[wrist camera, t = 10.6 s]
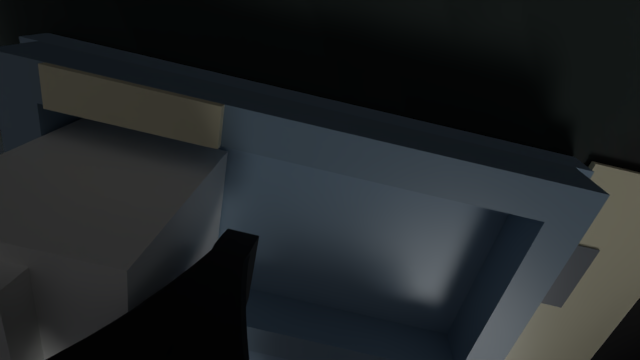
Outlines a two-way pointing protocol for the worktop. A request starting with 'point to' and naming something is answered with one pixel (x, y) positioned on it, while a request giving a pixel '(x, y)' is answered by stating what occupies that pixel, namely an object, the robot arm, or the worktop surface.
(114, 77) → the dark blue tray
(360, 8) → the worktop surface
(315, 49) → the worktop surface
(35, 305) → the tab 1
